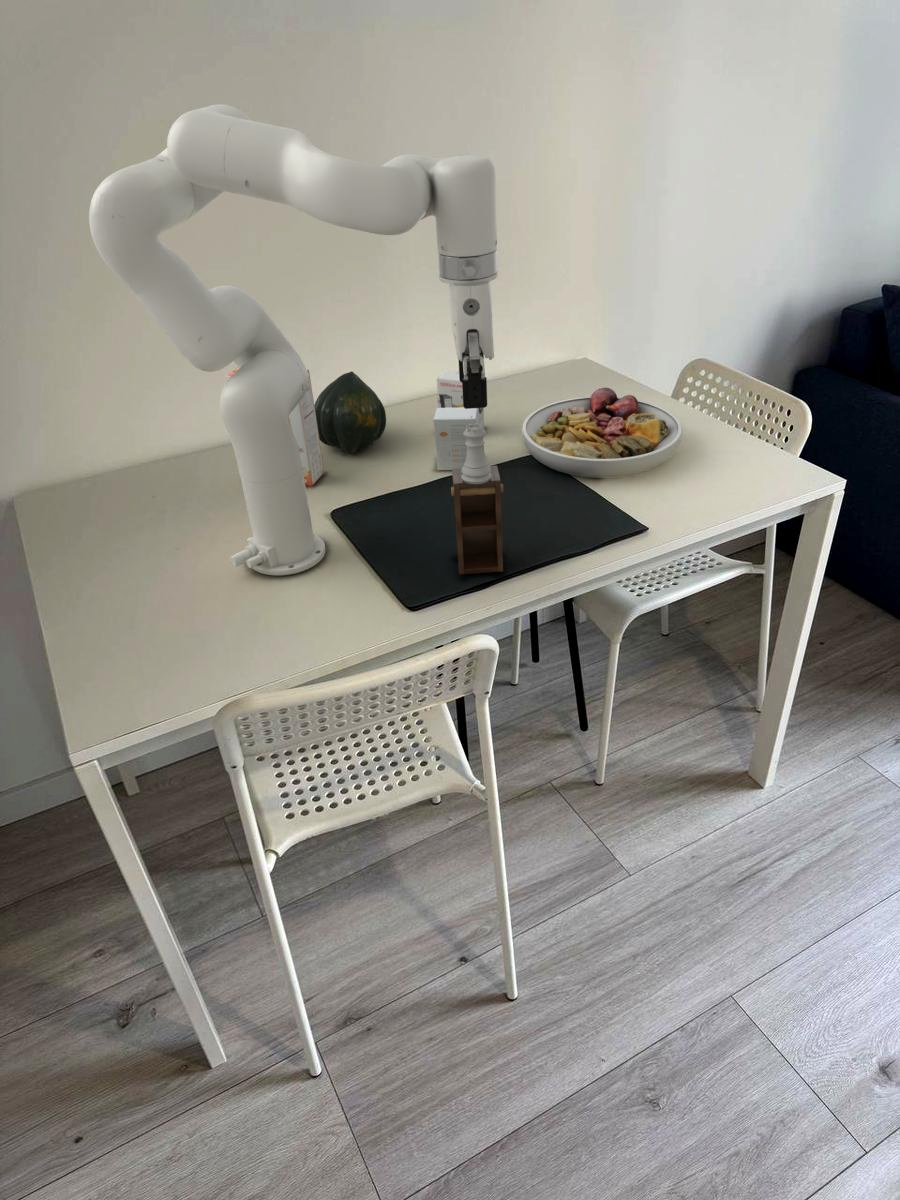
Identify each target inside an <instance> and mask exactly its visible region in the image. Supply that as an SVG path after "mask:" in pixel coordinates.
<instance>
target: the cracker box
mask: <svg viewBox="0 0 900 1200" xmlns="http://www.w3.org/2000/svg"><path fill="white" fill-rule="evenodd" d="M238 369H239V367H238V366H236V368H235V369H233V370H232V371H230V372H229V373H228V374H227V375H226V376H225V378H226V382H227V381H228V380H229V378H230V377H231V376H232V375H233V374H234V373H235V372H236V371H237V370H238ZM307 373H308V387H307V391H306V393H305V395H304V396H303V398H302V399H301V400H300V402H299V403H298V404H297V405H296V407H295V408H294V409H293V411H292V412H291V413H290V415H289V424H290V427H291V430H292V432H293V434H294V437H295V439H296V441H297V444H298V448H299V452H300V458H301V464H302V469H303V475H304V481H305V486H309V487H313V486H315V484H316V483H317V482H318V480H319V479H320V478H321V477H322V476H323V475H324V474H325V469H324V468H325V467H324V461H323V455H322V447H321V441H320V440H319V433H318V426H317V420H316V413H315V406H314V405H315V400H314V393H313V387H312V380H311V373H310V369H307Z"/></svg>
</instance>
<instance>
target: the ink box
mask: <svg viewBox="0 0 900 1200" xmlns="http://www.w3.org/2000/svg"><path fill="white" fill-rule="evenodd" d="M436 395H437V396H436V397H437V408H458V407H463V390H462V382H460V379H459V370H451V369H446V370H443V372H442V373H441V374H440V375H438V376H437V378H436ZM478 423H479V427H480V425H481V424H482V425H483V429H484V430H485V408H478Z"/></svg>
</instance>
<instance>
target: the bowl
mask: <svg viewBox="0 0 900 1200" xmlns="http://www.w3.org/2000/svg"><path fill="white" fill-rule="evenodd" d="M682 433H683V425H682V423H681V422H680V420H679V418H677V416H675V415H674V414H673V413H672V412H670V411H669V410H667V409H665V408H663V407H661V406H659V405H656V404H654V403H650V402H648V401H643V400H640V399H637V397H636V396H635V395H632V394H626V395H624V396H622V397H621V396H620V397H619V396H618V395H617V393H616V391H615V390H614V389H612V388H610V387H601V388H597V389H596V390H594V391H593V392H592V394H591V395H590V396H582V397H574V398H567V399H563V400H558V401H554V402H552V403H549V404H545V405H543V406H541V407H539V408H537V409H535V410H534V411H532V412H531V413H530V414H529V415H528V416H526V418H525V419H524V421H523V423H522V433H521V434H522V441H523V443H524V445H525V448H526V449H527V451H528V452H529V453H530V455H531V456H532V457H533V458H534V459H535V460H537V461H538V462H540V464H542V465H544V466H546V467H548V468H550V469H551V470H554V471H556V472H559V473H563V474H567V475H571V476H576V477H583V478H592V479H593V478H594V479H595V478H596V479H613V478H621V477H629V476H634V475H638V474H642V473H645V472H647V471H650V470H652V469H655V468H657V467H658V466H661V465H662V464H664V463H665V462H667V461H668V460H669V459H670V458H671V457H672V456H673V455H674V454H675V452H676V451H677V450H678V447H679V446H680V443H681V439H682Z"/></svg>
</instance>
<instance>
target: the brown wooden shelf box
mask: <svg viewBox="0 0 900 1200" xmlns="http://www.w3.org/2000/svg"><path fill="white" fill-rule="evenodd" d="M489 466H490V468H491V471H490V473H491V475H492V477H491V478H490V479H489V481H488V482H486V483H482V484H469V483H466V482H465V481H464V480H463V479H462V477H461V476H462V475H463V473H462V468H455V469H452V470H451V474H452V475H451V476H452V486H451V487H450V494H451V497H452V498H453V506H454V522H455V523H454V524H455V540H456V541H455V542H456V556H457V557H456V558H457V567H458V575H471V574H472V575H473V574H487V573H502V572H504V554H503V553H504V552H503V523H502V522H503V518H502V494H503V493H504V484H503V483H501V482H502V481H501V476H500V473H499V469H498V465H489Z"/></svg>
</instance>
